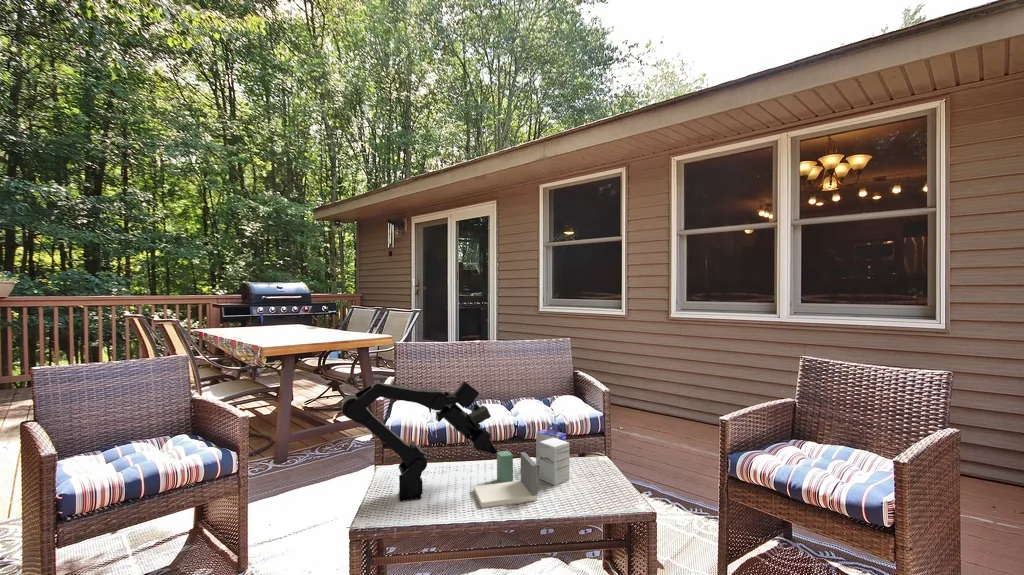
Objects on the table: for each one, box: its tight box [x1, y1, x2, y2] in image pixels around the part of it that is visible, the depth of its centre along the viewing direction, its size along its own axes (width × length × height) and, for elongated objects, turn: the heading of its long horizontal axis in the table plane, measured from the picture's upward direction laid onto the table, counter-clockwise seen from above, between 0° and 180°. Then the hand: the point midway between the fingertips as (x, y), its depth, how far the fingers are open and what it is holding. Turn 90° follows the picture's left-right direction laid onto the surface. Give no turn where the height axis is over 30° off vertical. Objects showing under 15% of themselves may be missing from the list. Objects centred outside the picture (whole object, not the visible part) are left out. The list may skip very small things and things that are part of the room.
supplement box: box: [539, 438, 570, 486], centre depth 156 cm, size 7×7×13 cm
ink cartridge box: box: [535, 424, 567, 467], centre depth 167 cm, size 10×6×14 cm, turn 53°
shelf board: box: [473, 451, 538, 509], centre depth 144 cm, size 17×12×10 cm
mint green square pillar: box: [496, 450, 514, 483], centre depth 155 cm, size 4×4×9 cm
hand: (491, 448), depth 154 cm, fingers open, 9 cm apart
